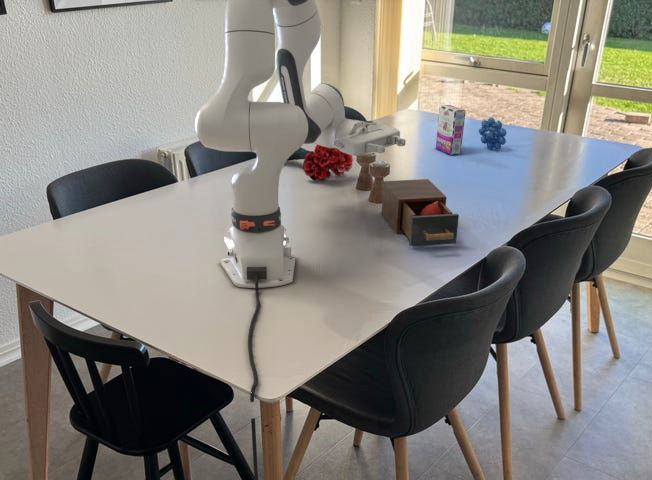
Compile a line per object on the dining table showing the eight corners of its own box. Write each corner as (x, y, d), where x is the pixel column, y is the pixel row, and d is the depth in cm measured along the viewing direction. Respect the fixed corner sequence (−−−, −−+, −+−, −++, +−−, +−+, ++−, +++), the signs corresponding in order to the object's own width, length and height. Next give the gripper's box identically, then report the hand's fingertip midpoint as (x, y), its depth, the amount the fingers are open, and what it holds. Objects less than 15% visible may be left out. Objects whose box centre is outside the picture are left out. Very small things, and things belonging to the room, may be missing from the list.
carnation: (276, 183, 259) (349, 198, 238) (245, 157, 244) (320, 172, 223) (293, 145, 260) (367, 157, 239) (264, 117, 244) (340, 128, 224)
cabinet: (443, 230, 198) (446, 196, 193) (396, 233, 196) (398, 199, 191) (425, 210, 213) (428, 178, 207) (381, 213, 210) (383, 181, 205)
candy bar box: (461, 154, 267) (466, 110, 259) (450, 155, 265) (455, 111, 257) (445, 147, 276) (449, 104, 267) (435, 148, 274) (438, 105, 266)
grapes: (472, 149, 274) (475, 117, 268) (479, 145, 279) (483, 114, 273) (499, 154, 268) (504, 121, 262) (507, 150, 273) (511, 118, 267)
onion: (414, 222, 190) (424, 195, 190) (419, 229, 195) (428, 202, 195) (434, 228, 188) (444, 200, 188) (438, 234, 193) (448, 207, 193)
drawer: (462, 250, 184) (465, 221, 180) (416, 253, 182) (418, 224, 177) (437, 223, 201) (440, 196, 197) (395, 225, 199) (396, 198, 195)
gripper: (329, 131, 186) (371, 141, 179) (375, 119, 200) (416, 128, 193) (329, 155, 190) (369, 165, 182) (374, 142, 203) (414, 151, 196)
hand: (393, 146), depth 188 cm, fingers open, 8 cm apart
